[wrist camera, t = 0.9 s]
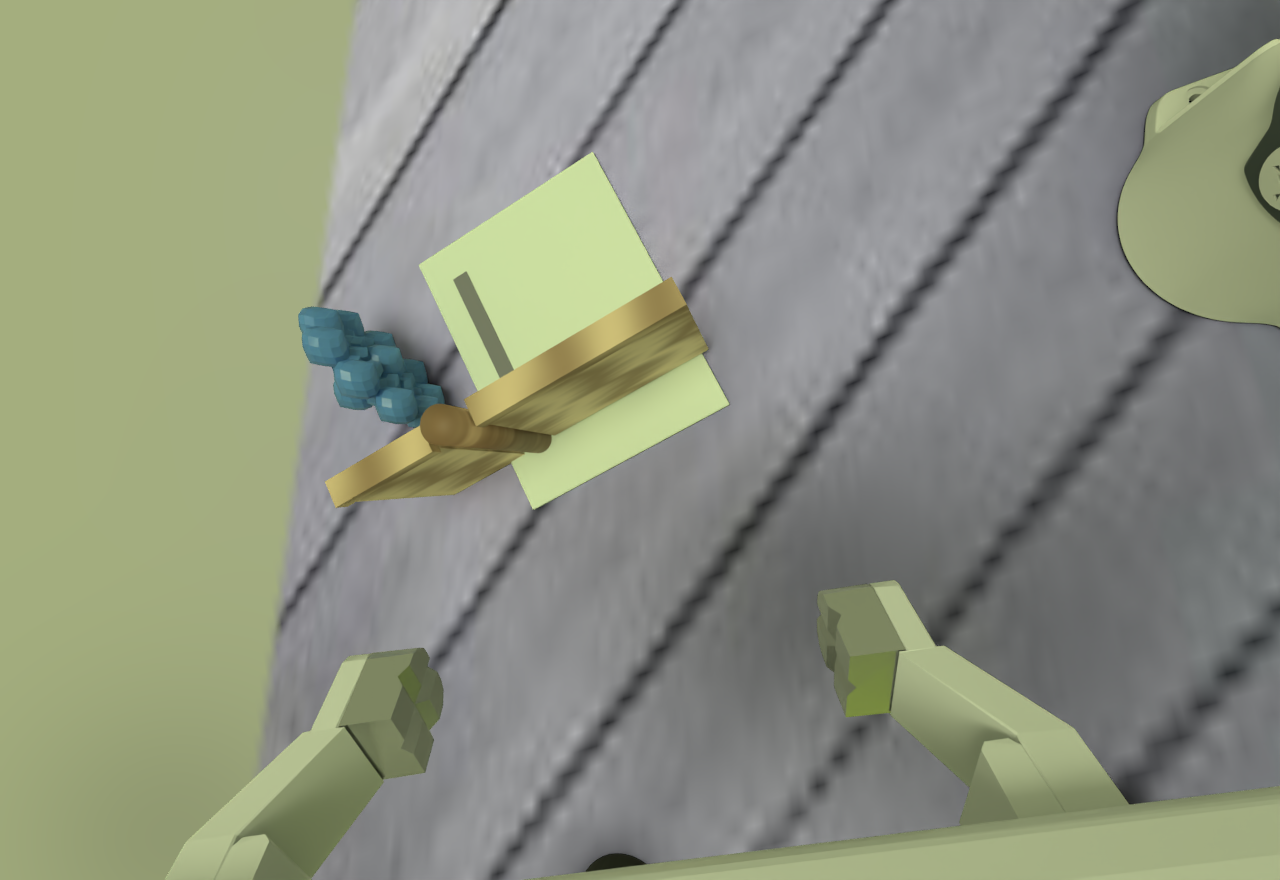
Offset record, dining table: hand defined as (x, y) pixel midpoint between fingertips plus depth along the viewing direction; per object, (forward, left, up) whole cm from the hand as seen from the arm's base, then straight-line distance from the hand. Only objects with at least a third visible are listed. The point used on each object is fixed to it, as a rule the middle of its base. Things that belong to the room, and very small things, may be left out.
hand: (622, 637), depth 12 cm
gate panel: (+2, -13, -32) cm, 34 cm away
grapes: (+19, -22, -33) cm, 44 cm away
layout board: (+5, -20, -33) cm, 39 cm away
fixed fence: (+15, -13, -33) cm, 38 cm away
